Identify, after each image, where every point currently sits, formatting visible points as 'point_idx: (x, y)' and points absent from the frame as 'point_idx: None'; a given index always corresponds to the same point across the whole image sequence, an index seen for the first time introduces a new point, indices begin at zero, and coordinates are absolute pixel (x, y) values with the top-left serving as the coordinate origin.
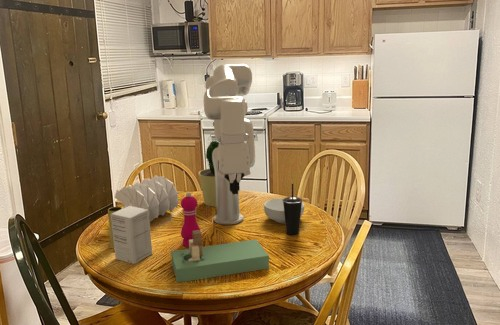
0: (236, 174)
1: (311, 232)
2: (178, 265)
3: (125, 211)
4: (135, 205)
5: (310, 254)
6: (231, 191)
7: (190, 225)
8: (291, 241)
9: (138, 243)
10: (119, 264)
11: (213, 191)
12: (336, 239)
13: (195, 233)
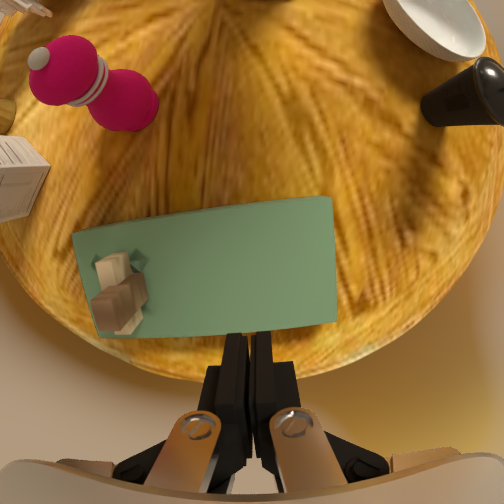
0: (289, 483)
1: (470, 125)
2: None
3: None
4: (10, 9)
5: (438, 251)
6: (227, 337)
7: (103, 113)
8: (423, 159)
9: (6, 207)
10: None
11: None
12: (499, 187)
13: (102, 327)
